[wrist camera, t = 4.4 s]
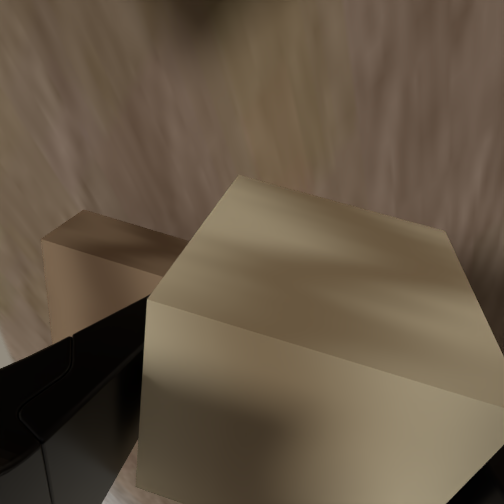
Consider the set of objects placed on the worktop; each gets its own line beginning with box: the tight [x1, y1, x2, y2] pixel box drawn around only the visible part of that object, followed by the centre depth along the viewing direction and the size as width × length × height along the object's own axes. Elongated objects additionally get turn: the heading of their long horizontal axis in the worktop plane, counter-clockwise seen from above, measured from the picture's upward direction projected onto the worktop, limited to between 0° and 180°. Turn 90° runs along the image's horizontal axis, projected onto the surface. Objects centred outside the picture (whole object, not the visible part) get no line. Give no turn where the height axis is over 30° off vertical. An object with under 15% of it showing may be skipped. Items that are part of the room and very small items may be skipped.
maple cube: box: [136, 175, 504, 504], centre depth 8 cm, size 5×5×5 cm
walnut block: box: [41, 210, 190, 345], centre depth 23 cm, size 8×8×4 cm
